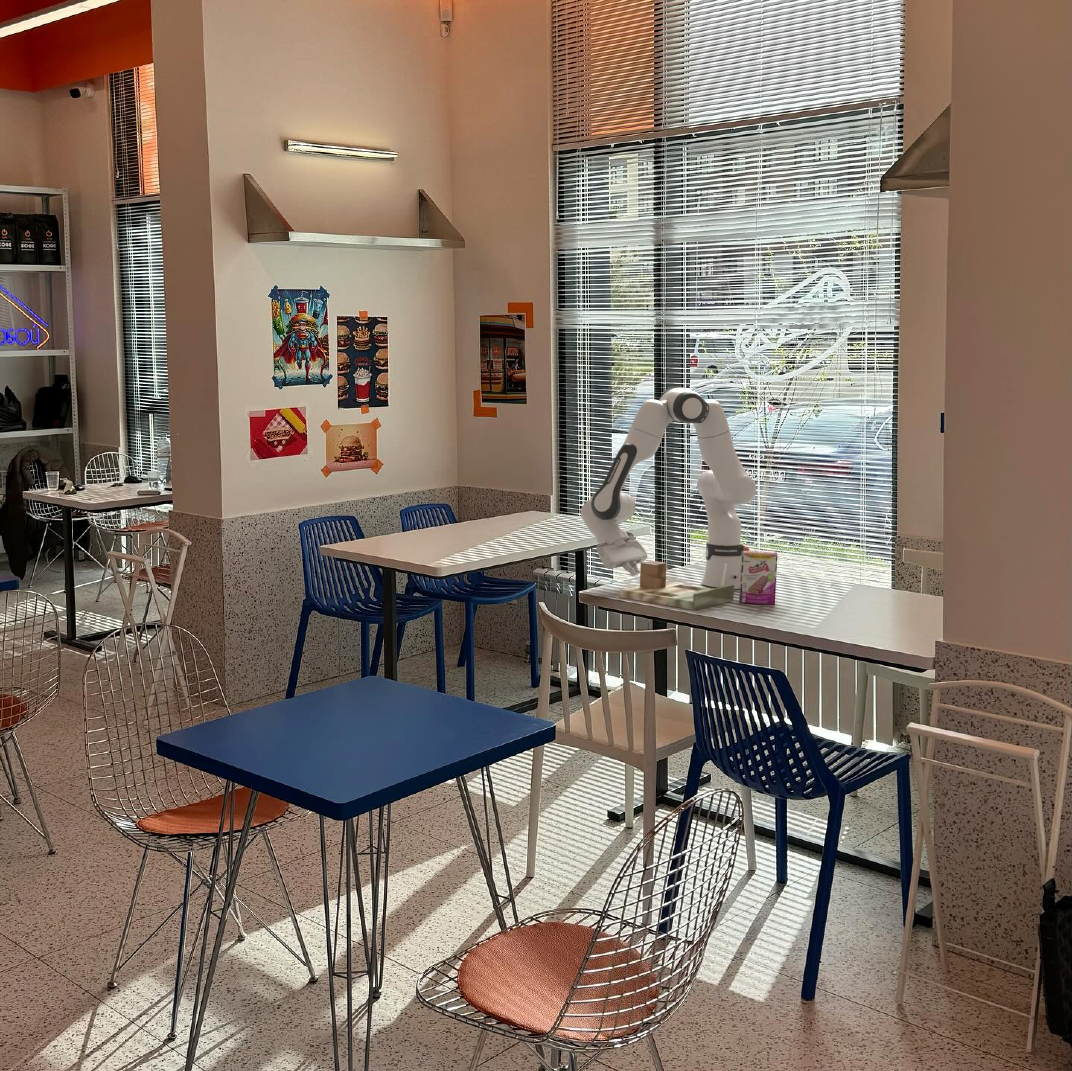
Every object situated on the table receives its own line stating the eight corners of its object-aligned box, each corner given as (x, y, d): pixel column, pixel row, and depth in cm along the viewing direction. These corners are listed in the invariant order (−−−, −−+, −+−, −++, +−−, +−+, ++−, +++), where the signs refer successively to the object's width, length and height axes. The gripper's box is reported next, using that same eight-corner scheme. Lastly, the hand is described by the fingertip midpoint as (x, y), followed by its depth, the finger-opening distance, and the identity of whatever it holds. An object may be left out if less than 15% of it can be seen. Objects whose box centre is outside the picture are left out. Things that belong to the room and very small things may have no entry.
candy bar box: (739, 604, 394) (741, 552, 391) (738, 601, 399) (740, 550, 396) (775, 605, 393) (778, 553, 390) (774, 602, 397) (776, 551, 395)
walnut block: (650, 584, 410) (651, 560, 409) (665, 587, 407) (666, 562, 405) (639, 587, 406) (640, 562, 405) (654, 589, 402) (655, 565, 401)
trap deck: (619, 597, 402) (620, 581, 401) (659, 588, 418) (659, 573, 417) (695, 610, 383) (696, 594, 382) (733, 600, 399) (734, 584, 399)
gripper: (599, 538, 406) (622, 572, 401) (636, 532, 421) (659, 564, 416) (588, 550, 409) (611, 584, 404) (625, 544, 424) (648, 576, 420)
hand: (636, 574), depth 410 cm, fingers closed
